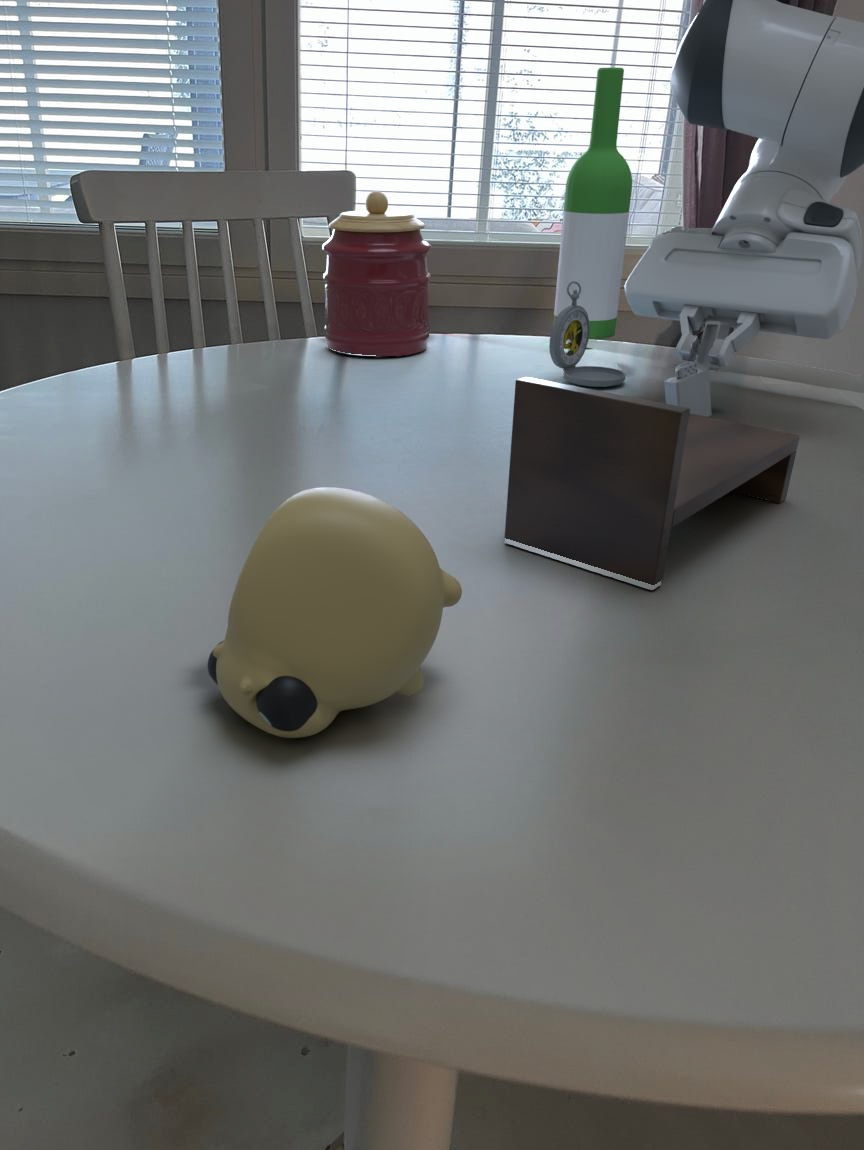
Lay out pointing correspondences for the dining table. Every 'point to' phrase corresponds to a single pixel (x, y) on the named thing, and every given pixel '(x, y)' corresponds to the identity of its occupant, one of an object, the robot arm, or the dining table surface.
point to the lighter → (696, 374)
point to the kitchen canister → (377, 282)
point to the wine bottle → (596, 216)
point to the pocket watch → (578, 347)
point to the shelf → (626, 473)
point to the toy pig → (330, 612)
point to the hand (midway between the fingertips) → (700, 359)
